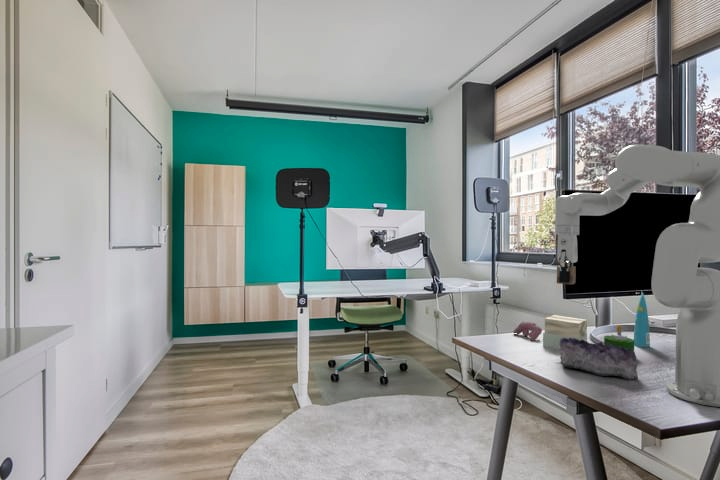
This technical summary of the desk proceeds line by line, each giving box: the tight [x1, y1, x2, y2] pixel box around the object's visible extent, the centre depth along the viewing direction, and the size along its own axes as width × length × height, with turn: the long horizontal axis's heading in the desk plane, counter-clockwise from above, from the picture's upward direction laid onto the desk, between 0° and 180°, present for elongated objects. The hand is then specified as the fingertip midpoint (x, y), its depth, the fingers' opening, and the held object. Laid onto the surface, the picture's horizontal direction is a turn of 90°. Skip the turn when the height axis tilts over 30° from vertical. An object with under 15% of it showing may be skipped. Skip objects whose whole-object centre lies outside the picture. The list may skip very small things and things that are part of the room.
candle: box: [603, 324, 635, 352], centre depth 128 cm, size 8×8×10 cm
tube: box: [633, 291, 651, 348], centre depth 139 cm, size 7×5×19 cm, turn 150°
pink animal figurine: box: [513, 321, 543, 341], centre depth 149 cm, size 10×5×7 cm, turn 22°
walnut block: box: [556, 265, 577, 285], centre depth 138 cm, size 5×5×6 cm
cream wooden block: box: [544, 314, 588, 338], centre depth 138 cm, size 9×11×5 cm
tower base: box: [542, 331, 588, 350], centre depth 138 cm, size 10×12×5 cm
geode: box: [559, 338, 639, 381], centre depth 113 cm, size 20×12×10 cm, turn 52°
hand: (566, 281), depth 138 cm, fingers closed on walnut block, 5 cm apart
